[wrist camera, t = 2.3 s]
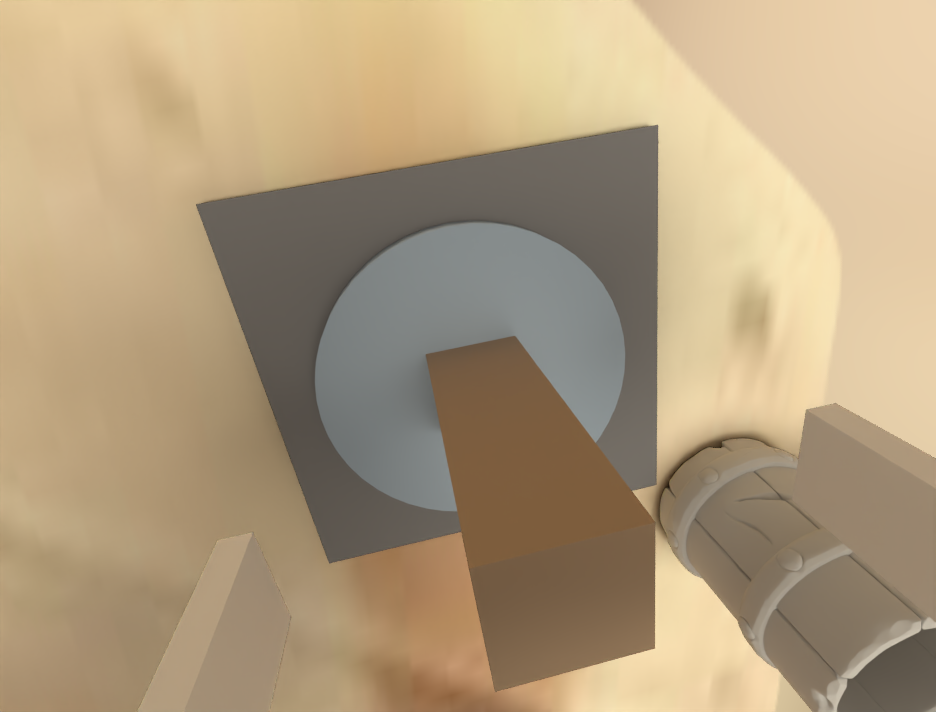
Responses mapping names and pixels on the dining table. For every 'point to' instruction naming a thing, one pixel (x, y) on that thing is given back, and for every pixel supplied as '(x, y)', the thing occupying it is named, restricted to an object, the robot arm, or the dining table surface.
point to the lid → (499, 433)
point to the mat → (403, 213)
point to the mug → (797, 584)
